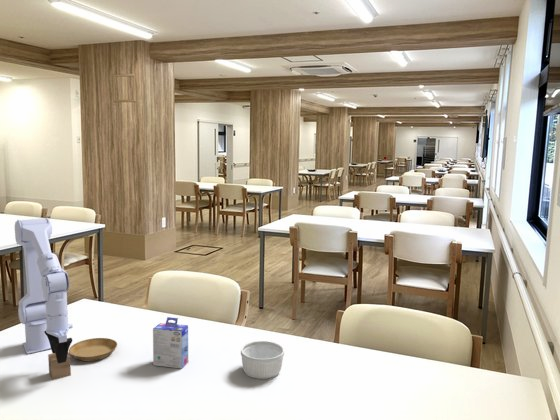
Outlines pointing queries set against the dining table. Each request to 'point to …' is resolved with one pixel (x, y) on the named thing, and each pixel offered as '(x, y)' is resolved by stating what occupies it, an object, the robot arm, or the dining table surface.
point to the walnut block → (58, 367)
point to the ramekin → (262, 359)
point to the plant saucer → (93, 349)
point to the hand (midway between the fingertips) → (59, 357)
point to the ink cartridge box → (170, 344)
